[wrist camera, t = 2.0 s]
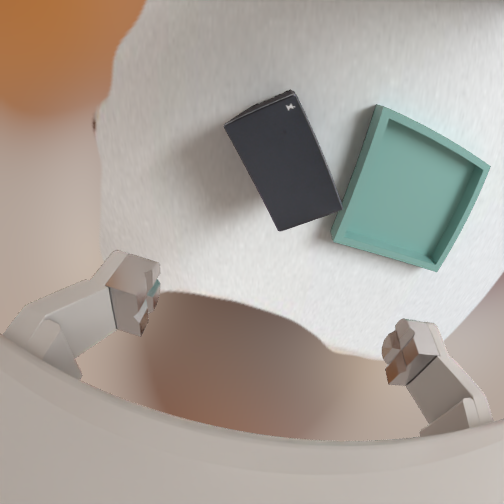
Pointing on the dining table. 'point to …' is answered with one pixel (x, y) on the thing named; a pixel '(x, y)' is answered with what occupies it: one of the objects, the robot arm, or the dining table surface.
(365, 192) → the teal tray
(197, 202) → the dining table surface
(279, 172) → the small box
